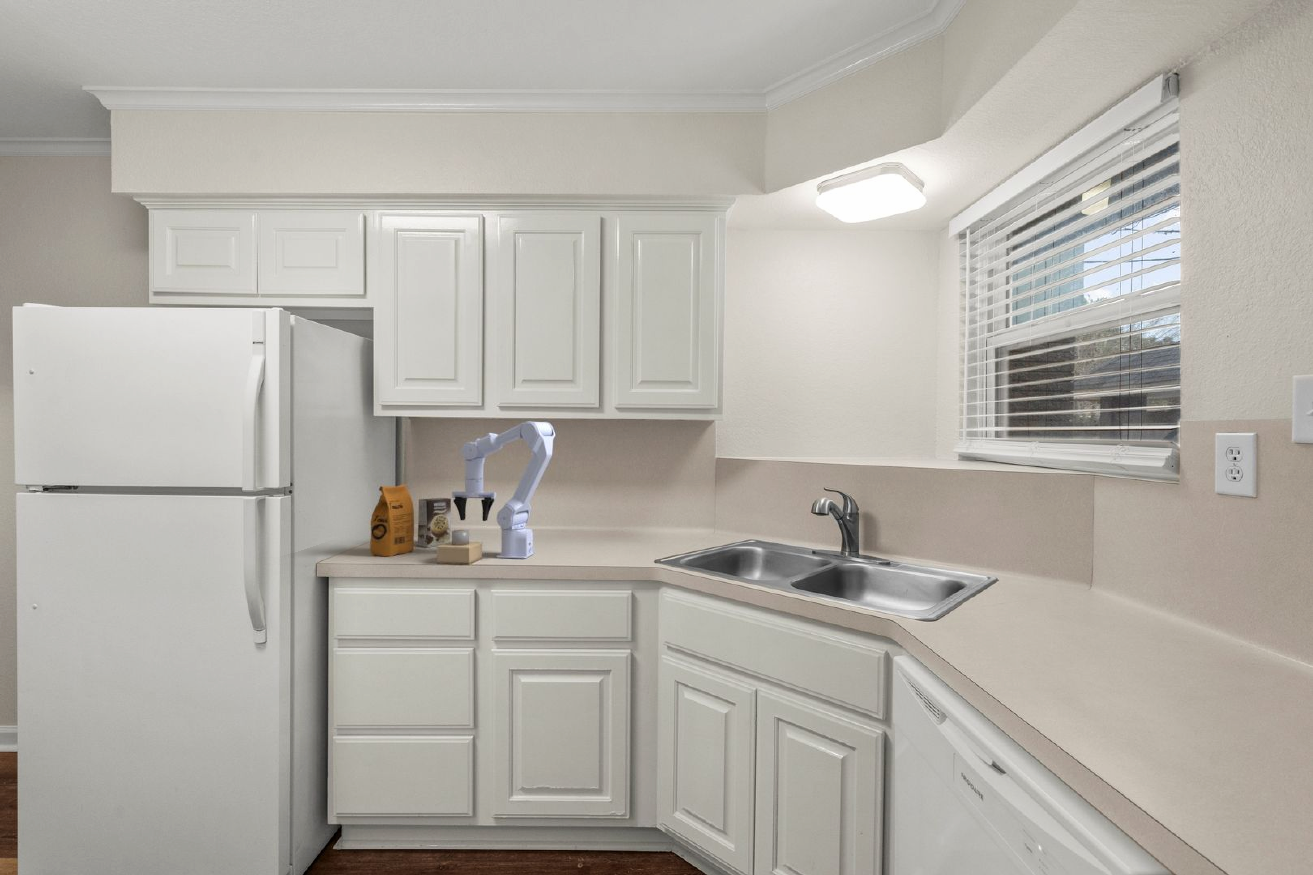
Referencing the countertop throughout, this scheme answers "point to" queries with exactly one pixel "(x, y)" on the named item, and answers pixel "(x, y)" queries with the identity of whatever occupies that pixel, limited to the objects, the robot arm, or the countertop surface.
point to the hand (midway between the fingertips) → (473, 520)
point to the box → (459, 556)
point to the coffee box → (434, 521)
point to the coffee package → (392, 522)
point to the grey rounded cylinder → (460, 537)
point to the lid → (466, 547)
